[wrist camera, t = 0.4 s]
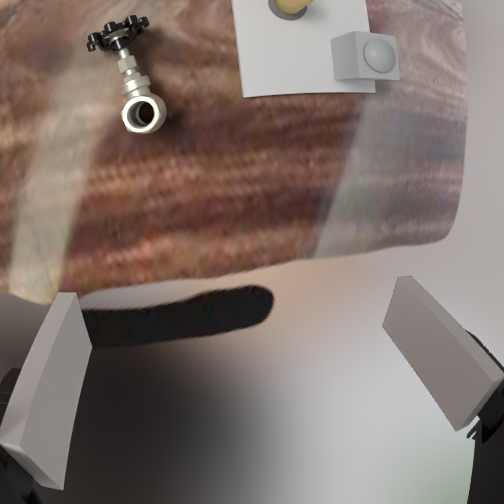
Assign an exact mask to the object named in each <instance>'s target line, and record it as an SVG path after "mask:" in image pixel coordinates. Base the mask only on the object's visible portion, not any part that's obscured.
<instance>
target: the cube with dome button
mask: <svg viewBox="0 0 504 504" xmlns="http://www.w3.org/2000/svg"><path fill="white" fill-rule="evenodd" d="M330 43H331V52H332V61H333V72H334V80H362V81H387V80H400V75H399V63H398V52H397V43H396V36H390V35H384V34H377V33H369V32H360V31H353V32H350V33H347V34H344V35H341V36H338V37H336V38H333V39H330Z"/></svg>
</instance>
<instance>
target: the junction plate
mask: <svg viewBox="0 0 504 504" xmlns="http://www.w3.org/2000/svg"><path fill="white" fill-rule="evenodd" d="M231 2H232V11H233V19H234V27H235V35H236V44H237V52H238V61H239V69H240V78H241V86H242V95H243V98H244V97H254V96H265V95H278V94H294V93H320V92H365V93H376V90H375V81H362V80H334V72H333V61H332V52H331V43H330V39H333V38H336V37H338V36H341V35H344V34H347V33H350V32H353V31H360V32H369V33H370V29H369V21H368V14H367V8H366V2H365V0H231Z"/></svg>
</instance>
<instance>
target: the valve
mask: <svg viewBox="0 0 504 504" xmlns="http://www.w3.org/2000/svg"><path fill="white" fill-rule="evenodd" d="M142 25H143V26H144V28H146V27H148V26H149V22H148V19H147V17H142V18H139V19H137V16H136V15H132V16H129V17H127V18H126V19H125V21H124V22H121V23H118V24H116V23H115V22H114V21H113V22H109V23H107V24H106V25H105V26H104V29H105V30H103V31H102V32H100V33H98V32H95V33H92V34H90V35H89V36H88V40H89V42H88V43H87V48H88V51H89V52H92V51H95V50H96V49H95V46H96V45H98V47H99V48H100V50H101V51H105V52H110V51H113V54H119V56H120V59H121V60H119V61H118V62H117V63H118V65H119V68H120V71H121V73H122V74H124V73H125V75H126V77H125V78H124V82H125V84H123V85H122V86H121V87H120V89H121V92H122V94H123V96H127V98H128V101H129V102H128V103H127V105H126V106H125V107H124V109H123V110H122V111H121V115H122V118H123V120H124V123H125V125H126V128H127V130H128V131H132V132H137V133H141V134H148V133H152V132H154V131H156V130H157V129H159V128H160V127H161V126H162V124H163V123H164V121H165V119H166V115H167V110H166V106H165V103H164V101H163V100H162V99H161V98H160V97H159V96H157V95H155V94H152V93H151V92H150V90H149V87H148V86H149V85H151V83H150V80H149V77H148V76H147V75H146V76H141V73H140V72H137V71H136V68H138V65H137V62H136V59H135V57H134V56H133V55H131V56H130V54H129V51H128V50H129V49H130V48H131V47H132V45H131V42H132V41H133V40H134V39H135V37H136V36H138V35H141V34H143V33H144V29H143V26H142ZM125 28H129V29H128V30H127V31H125V30H124V29H125ZM108 35H109V38H106V39H104V38H105V37H107V36H108ZM109 44H110V46H109ZM146 102H148V103H150V104H151V105H152V107H153V109H154V118H153V120H152V122H151V123H150V124H147V123H144V122H143V121H142V120H141V119H140V117H139V109H140V107H141V106H142V105H143V104H144V103H146Z"/></svg>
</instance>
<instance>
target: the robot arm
mask: <svg viewBox="0 0 504 504" xmlns="http://www.w3.org/2000/svg"><path fill="white" fill-rule="evenodd" d="M382 327H383V328H384V330H385V331H386V332H387V334H388V335H389V336H390V338H391V339H392V340H393V342H394V343H395V345H396V346H397V347H398V349H399V350H400V351H401V353H402V354H403V356H404V357H405V358H406V360H407V361H408V363H409V364H410V365H411V367H412V368H413V370H414V371H415V372H416V374H417V375H418V376H419V378H420V379H421V381H422V382H423V384H424V385H425V386H426V388H427V389H428V391H429V392H430V394H431V395H432V397H433V398H434V399H435V401H436V402H437V404H438V406H439V407H440V409H441V410H442V412H443V413H444V414H445V416H446V417H447V419H448V420H449V422H450V423H451V425H452V427H453V428H454V430H455V431H458V430H460V429H462V428H464V427H466V426H468V425H469V424H470V423H471V422H472V420H473V419H474V418H475V417H476V416H477V415H478V417H479V418H480V420H479V421H478V422H477V423H476V425H475V426H474V427H473V428H472V429H471V430H470V432H469V433H468V434H467V438H469V437H470V436H471V435H472V434H473V433H474V432H475V431H476V434H475V435H474V436H473V437H472V439H474V440H475V449H474V460H473V469H472V476H471V483H470V490H469V496H468V501H467V504H504V367H503V366H502V365H501V364H500V363H499V362H498V361H497V359H496V358H495V357H494V356H493V355H492V354H491V353H489V350H488V349H487V348H486V347H485V346H483V344H482V343H481V342H480V341H479V339H478V338H477V337H476V336H474V335H473V334H471V333H470V332H468V331H467V330H465V329H464V328H463V327H462V326H461V325H460V324H459V323H458V322H457V321H456V320H455V319H454V318H453V317H452V316H451V315H450V314H449V313H448V312H447V311H446V310H445V309H444V308H443V307H442V306H441V305H440V304H439V303H438V302H437V301H436V300H435V299H434V298H433V297H432V296H431V295H430V294H429V293H428V292H427V291H426V290H425V289H424V288H423V287H422V286H421V285H420V284H419V283H418V282H417V281H416V280H415V279H414V278H413V277H412V276H404V277H398V280H397V282H396V285H395V289H394V292H393V295H392V298H391V302H390V304H389V308H388V311H387V313H386V316H385V319H384V322H383V325H382ZM91 349H92V345H91V342H90V339H89V336H88V333H87V330H86V326H85V323H84V320H83V316H82V313H81V309H80V306H79V302H78V298H77V295H76V293H58V295H57V297H56V298H55V300H54V302H53V304H52V306H51V308H50V310H49V312H48V314H47V316H46V318H45V320H44V322H43V324H42V326H41V328H40V330H39V332H38V334H37V336H36V339H35V341H34V343H33V345H32V347H31V349H30V352H29V354H28V356H27V358H26V361H25V363H24V365H23V368H22V369H17V368H12V369H11V370H10V371H9V372H8V373H7V375H6V376H5V377H4V378H3V379H2V382H1V384H0V504H44V503H43V502H42V500H41V499H40V497H39V496H38V494H37V492H36V490H35V489H34V488H33V487H32V485H33V479H35V480H36V481H37V482H38V483H40V484H41V485H42V486H46V487H50V488H55V489H60V490H63V487H64V478H65V471H66V464H67V457H68V451H69V445H70V440H71V434H72V429H73V423H74V419H75V414H76V409H77V405H78V400H79V395H80V392H81V387H82V383H83V379H84V375H85V371H86V367H87V364H88V360H89V356H90V353H91Z"/></svg>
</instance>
